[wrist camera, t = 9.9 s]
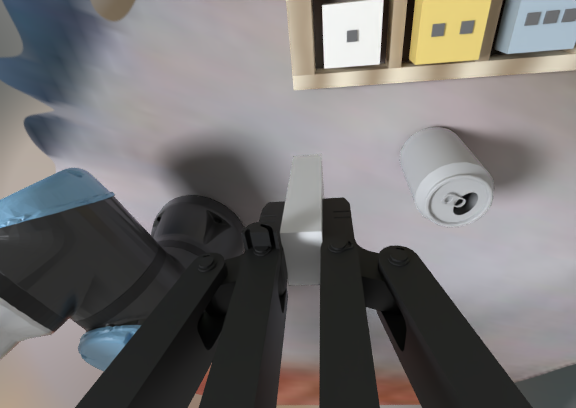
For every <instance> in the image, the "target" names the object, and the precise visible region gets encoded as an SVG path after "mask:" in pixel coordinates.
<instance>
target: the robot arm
mask: <svg viewBox="0 0 576 408" xmlns="http://www.w3.org/2000/svg"><path fill="white" fill-rule="evenodd" d="M114 196H115V195H114V193H113V192H109V191H108V190H107V189H106V188H105V187H104V186H103V185H102V184H101V183H100V182H99V181H98V180H97V179H95V178H94V177H93V176H92V175H91V174H90V173H89V172H87V171H85V170H83V169H79V168H69V169H65V170H62V171H60V172H58V173H56V174H53V175H51V176H49V177H47V178H45V179H43V180H41V181H39V182H36V183H34V184H32V185H30V186H28V187H26V188H24V189H22V190H20V191H18V192H16V193H13V194H11V195H10V196H7V197H5V198H4V199H1V200H0V360H1V359H2V358H3V357H4V356H5V355H7V354H8V353H9V352H10V351H11V350H12V349H13V348H14V347H15V346H16V345H17V344H18V343H19V342H21V341H23V340H25V339H29V338H35V337H41V336H46V335H51V334H53V333H54V332H55V331H56V330H57V329H58V328H59V327H61V326H62V325H63V324H64V323H65V322H66V321H67V320H68V319H69V318H70V319H72V320H73V321H74V322H76V323H77V324H78V325H80V326H81V327H82V328H84V329H85V330H86V333H85V334H83V336H82V337H81V339H80V344H79V346H78V351H79V353H80V354H81V356H82V358H83V359H84V360H85V361H86V362H87V363H89V364H90V365H92V366H94V367H95V368H97V369H100V370H102V371H104V372H103V374H102V375H101V376H100V377H99V379H98V380H97V381H96V382H95V384H94V385H93V386H92V387H91V389H90V390H89V391H88V392H87V393H86V395H85V396H84V397H83V398H82V400H81V401H80V402H79V403H78V405H77V406H76V407H75V408H188V406H189V404H190V402H191V400H192V398H193V397H194V395H195V393H196V391H197V389H198V387H199V385H200V384H201V382H202V380H203V378H204V376H205V374H206V372H207V371H208V369H209V367H210V365H211V363H212V365H211V368H210V372H209V375H208V378H207V382H206V385H205V389H204V392H203V395H202V399H201V402H200V405H199V408H276V404H277V394H278V385H279V376H280V366H281V357H282V348H283V338H284V329H285V319H286V310H287V301H288V293H287V278H288V284H289V286H292V285H320V406H319V407H320V408H380V406H379V399H378V392H377V385H376V378H375V371H374V363H373V356H372V349H371V342H370V335H369V328H368V321H367V314H366V307H368V308H372V309H376V310H377V314H378V316H379V318H380V320H381V322H382V324H383V326H384V328H385V330H386V333H387V335H388V337H389V339H390V341H391V343H392V345H393V347H394V349H395V352H396V354H397V356H398V358H399V360H400V362H401V364H402V366H403V368H404V370H405V373H406V375H407V377H408V379H409V381H410V383H411V385H412V387H413V389H414V391H415V394H416V396H417V398H418V400H419V402H420V404H421V406H422V408H532V407H531V405H530V404H529V402H528V401H527V400H526V398H525V397H524V396H523V394H522V393H521V392H520V390H519V389H518V388H517V387H516V385H515V384H514V382H513V381H512V380H511V378H510V377H509V376H508V374H507V373H506V372H505V370H504V369H503V368H502V367H501V365H500V364H499V363H498V361H497V360H496V359H495V357H494V356H493V355H492V353H491V352H490V351H489V349H488V348H487V347H486V345H485V344H484V343H483V341H482V340H481V339H480V337H479V336H478V335H477V333H476V332H475V331H474V329H473V328H472V327H471V325H470V324H469V323H468V321H467V320H466V319H465V317H464V316H463V315H462V313H461V312H460V311H459V309H458V308H457V307H456V305H455V304H454V303H453V301H452V300H451V299H450V297H449V296H448V295H447V293H446V292H445V291H444V289H443V288H442V287H441V286H440V284H439V283H438V282H437V280H436V279H435V278H434V276H433V275H432V274H431V272H430V271H429V270H428V268H427V267H426V266H425V264H424V263H423V262H422V260H421V259H420V258H419V256H418V255H417V254H416V253H415V252H414V251H413V250H411V249H409V248H407V247H403V246H389V247H386V248H384V249H383V250H381V251H380V253H375V252H371V251H367V250H365V249H363V248H361V247H360V246H359V245H358V244H357V243H356V242H355V239H354V232H353V225H352V218H351V210H350V203H349V202H348V201H347V200H346V199H345V198H327V199H324V186H323V172H322V158H321V154H317V155H303V156H293V160H292V166H291V172H290V177H289V183H288V189H287V195H286V200H285V202H269V203H268V204H267V205H266V206H265V207H264V208H263V209H262V213H261V217H260V220H259V222H256V223H253V224H250V225H248V226H247V227H246V228H244V227H243V225H242V223H241V222H240V220H239V219H238V218H237V216H236V215H235V214H234V213H233V212H232V211H231V210H229V209H228V208H227V207H225V206H224V205H222V204H221V203H219V202H217V201H214V200H212V199H209V198H206V197H201V196H182V197H178V198H175V199H173V200H171V201H169V202H168V203H167V204H166V205H165V206H164V207H163V208H162V210H161V211H160V212H159V213H158V215H157V216H156V218H155V221H154V224H153V228H152V232H151V235H150V234H149V233H148V232H147V231H146V230H145V229H144V228H143V227H142V226H141V225H140V224H139V222H138V221H137V220H136V219H135V218H134V217H133V216H132V215H131V214H130V213H129V212H128V211H127V210H126V209H125V208H124V207H123V206H122V204H121V203H120V202H119V201H118V200H117V199H116V198H115V197H114ZM244 248H245V253H244V254H243V251H244Z"/></svg>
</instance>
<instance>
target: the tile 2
mask: <svg viewBox="0 0 576 408" xmlns="http://www.w3.org/2000/svg"><path fill="white" fill-rule="evenodd" d="M490 5H491V0H415V7H414V17H413V26H412V35H411V45H410V54H409V60H410V61H412V62H413V63H414V64H415V65H419V64H431V63H444V62H457V61H469V60H478V59H479V55H480V50H481V46H482V41H483V37H484V32H485V28H486V23H487V18H488V14H489V9H490Z"/></svg>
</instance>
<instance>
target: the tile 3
mask: <svg viewBox="0 0 576 408" xmlns="http://www.w3.org/2000/svg"><path fill="white" fill-rule="evenodd" d="M575 43H576V0H506V1H505V6H504V10H503V14H502V18H501V22H500V26H499V30H498V35H497V39H496V43H495V47H494V49H495V50H498V51H501V52H503V53H506V54H513V53H525V52H538V51H550V50H562V49H573V48H574V45H575Z"/></svg>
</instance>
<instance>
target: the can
mask: <svg viewBox="0 0 576 408" xmlns="http://www.w3.org/2000/svg"><path fill="white" fill-rule="evenodd" d="M399 161H400V165H401V168H402V171H403V173H404V176H405V179H406V181H407V184H408V186H409V189H410V192H411V194H412V197H413V200H414V202H415V205H416V207H417V210H418V211H419V212H420V213H421V215H422V216H423V217H425V218H427V219H428V220H430V221H432V222H434V223H435V224H437V225H439V226H444V227H461V226H465V225H468V224H471V223H473V222H475V221H477V220H478V219H479V218H481V217H482V216H483V215H484V214H486V212H487V211H488V209H489V208H490V206H491V204H492V200H493V191H494V183H493V178H492V177H491V175H490V174H489V172H488V171H487V170H486V168H485V167H484V166H483V165H482V164H481V163H480V161H479V160H478V159H477V158H476V157H475V156H474V154H473V153H472V152H471V151H470V150H469V149H468V147H467V146H466V145H465V144H464V143H463V141H462V140H461V139H460V138H459V137H458V136H457V134H455V133H454V132H452V131H451V130H449V129H446V128H442V127H432V128H427V129H424V130H421V131H418V132H417V133H415V134H414V135H413V136H411V137H410V138H409V139H408V140H407V141H406V143H405V144H404V145H403V147H402V150H401V152H400V160H399Z"/></svg>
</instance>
